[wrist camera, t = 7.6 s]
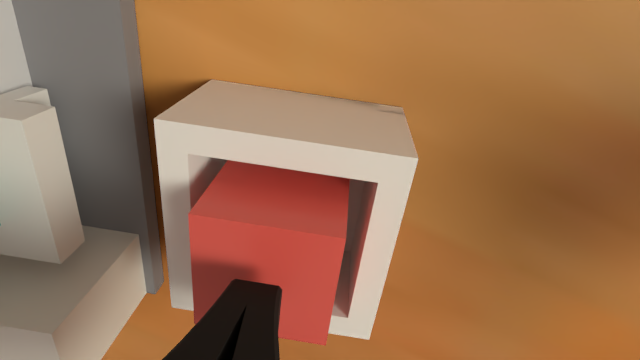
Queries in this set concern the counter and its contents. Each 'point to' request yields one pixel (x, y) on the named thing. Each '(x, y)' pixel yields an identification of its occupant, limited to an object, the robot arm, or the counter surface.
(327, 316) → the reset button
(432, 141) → the counter surface
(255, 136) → the box
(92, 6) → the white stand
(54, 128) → the carriage
